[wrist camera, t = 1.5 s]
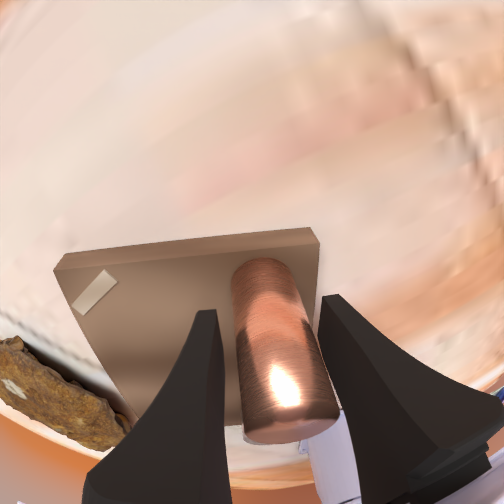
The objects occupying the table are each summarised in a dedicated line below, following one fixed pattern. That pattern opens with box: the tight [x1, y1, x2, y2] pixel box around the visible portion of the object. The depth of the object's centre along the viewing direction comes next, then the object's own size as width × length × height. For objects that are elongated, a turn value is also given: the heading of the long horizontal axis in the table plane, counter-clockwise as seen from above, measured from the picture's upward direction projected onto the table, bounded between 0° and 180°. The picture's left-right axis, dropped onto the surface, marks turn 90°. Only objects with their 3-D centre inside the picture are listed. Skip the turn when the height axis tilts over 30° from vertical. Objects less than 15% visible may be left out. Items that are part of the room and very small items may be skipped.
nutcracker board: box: [53, 227, 320, 426], centre depth 16 cm, size 15×12×2 cm
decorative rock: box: [0, 336, 132, 452], centre depth 17 cm, size 11×4×15 cm
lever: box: [231, 257, 340, 445], centre depth 13 cm, size 14×4×6 cm, turn 3°
